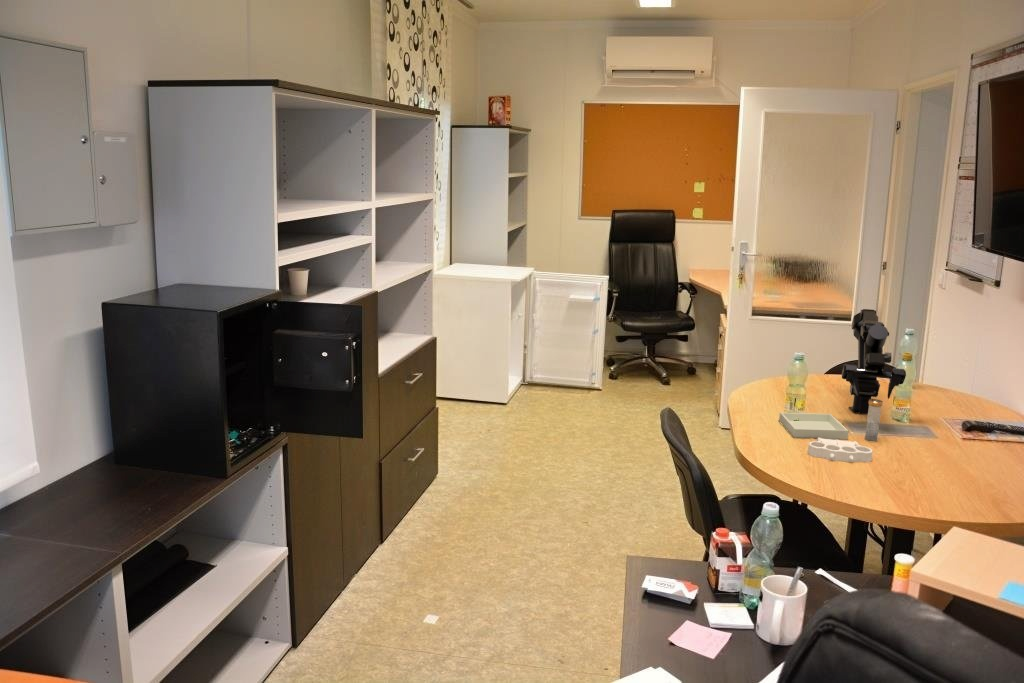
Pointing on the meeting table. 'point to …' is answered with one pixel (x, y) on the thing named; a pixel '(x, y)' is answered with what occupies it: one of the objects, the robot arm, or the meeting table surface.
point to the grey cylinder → (873, 419)
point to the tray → (813, 426)
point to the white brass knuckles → (839, 450)
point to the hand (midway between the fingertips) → (873, 396)
